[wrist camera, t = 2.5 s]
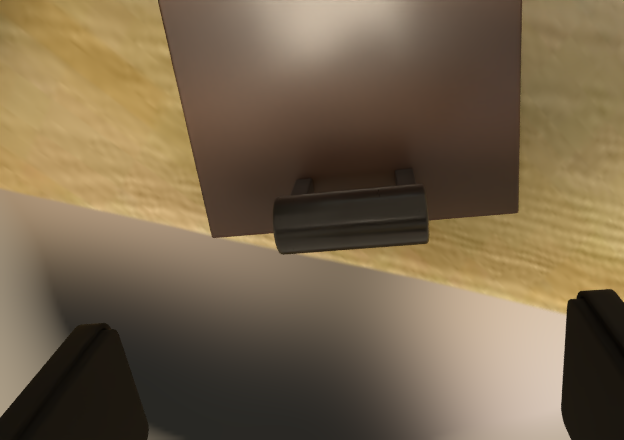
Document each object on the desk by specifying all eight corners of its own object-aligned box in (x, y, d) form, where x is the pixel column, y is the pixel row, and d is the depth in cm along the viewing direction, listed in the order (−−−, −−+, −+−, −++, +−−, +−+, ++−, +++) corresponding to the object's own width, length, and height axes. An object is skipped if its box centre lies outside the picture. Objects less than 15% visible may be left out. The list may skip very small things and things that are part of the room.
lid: (514, 206, 22) (556, 273, 17) (216, 230, 24) (175, 298, 19) (520, -273, 16) (590, -392, 11) (121, -191, 18) (23, -260, 13)
